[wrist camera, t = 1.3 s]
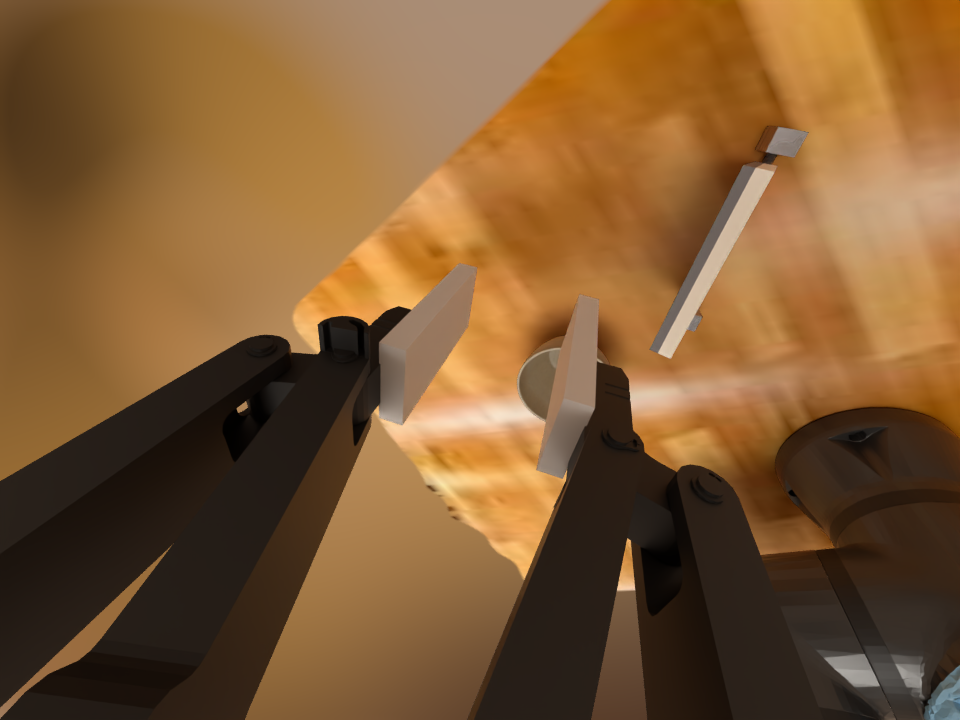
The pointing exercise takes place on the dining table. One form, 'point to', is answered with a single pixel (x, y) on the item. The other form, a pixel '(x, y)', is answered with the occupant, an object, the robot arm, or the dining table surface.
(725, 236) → the tile
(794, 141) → the hinge bracket
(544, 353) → the flower pot
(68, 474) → the robot arm
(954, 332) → the dining table surface
